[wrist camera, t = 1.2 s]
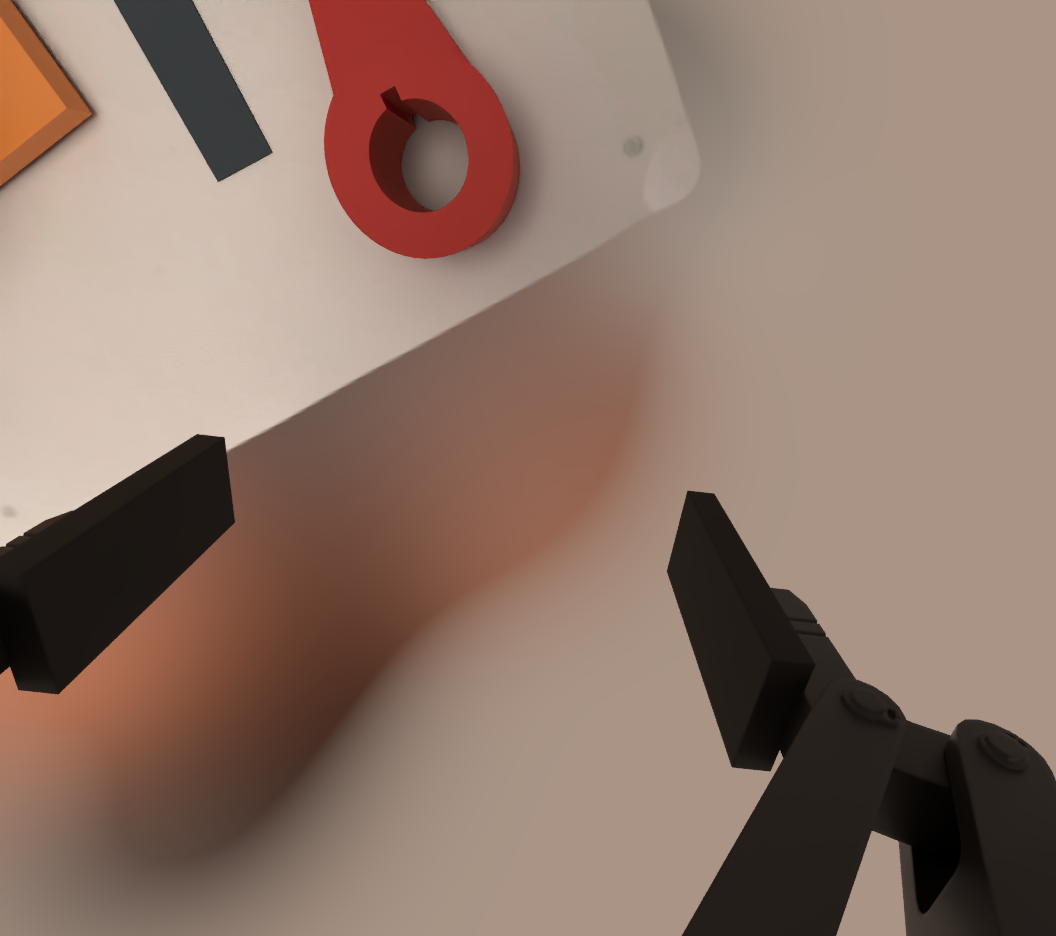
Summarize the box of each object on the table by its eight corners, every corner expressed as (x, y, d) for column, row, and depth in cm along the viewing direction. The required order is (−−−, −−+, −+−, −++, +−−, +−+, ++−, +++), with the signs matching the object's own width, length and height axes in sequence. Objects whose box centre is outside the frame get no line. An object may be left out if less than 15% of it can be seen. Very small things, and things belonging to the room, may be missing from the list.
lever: (544, 210, 35) (543, 209, 29) (412, 276, 36) (385, 288, 30) (400, -149, 28) (359, -248, 22) (248, -47, 30) (172, -113, 24)
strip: (94, -184, 28) (92, -185, 28) (272, 152, 34) (271, 152, 34) (34, -140, 29) (32, -141, 29) (218, 181, 35) (217, 181, 35)
